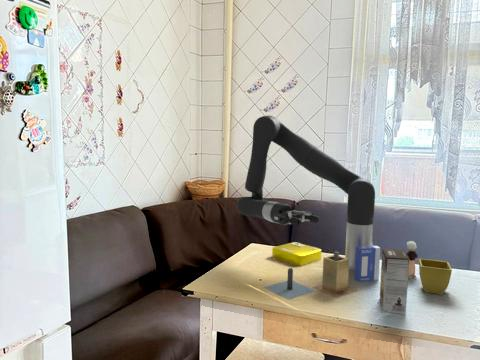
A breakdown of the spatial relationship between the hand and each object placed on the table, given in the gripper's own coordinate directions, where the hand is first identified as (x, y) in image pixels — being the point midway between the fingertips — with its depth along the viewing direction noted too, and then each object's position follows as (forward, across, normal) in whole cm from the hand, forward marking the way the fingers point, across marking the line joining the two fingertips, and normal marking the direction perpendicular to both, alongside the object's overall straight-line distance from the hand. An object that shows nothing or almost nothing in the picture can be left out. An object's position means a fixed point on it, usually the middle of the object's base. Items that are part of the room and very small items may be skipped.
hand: (309, 221), depth 140 cm
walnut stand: (+12, 0, +20) cm, 23 cm away
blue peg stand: (+4, -12, +20) cm, 24 cm away
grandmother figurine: (+19, +32, +20) cm, 42 cm away
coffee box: (+30, +4, +20) cm, 36 cm away
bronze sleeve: (+12, 0, +20) cm, 23 cm away
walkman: (+12, +16, +20) cm, 29 cm away
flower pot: (+30, +26, +20) cm, 45 cm away
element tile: (-20, +14, +21) cm, 32 cm away
